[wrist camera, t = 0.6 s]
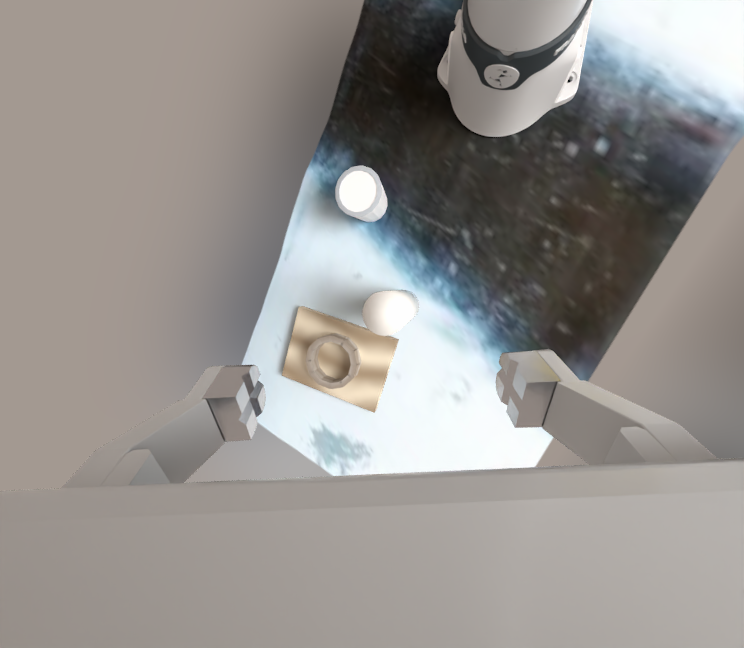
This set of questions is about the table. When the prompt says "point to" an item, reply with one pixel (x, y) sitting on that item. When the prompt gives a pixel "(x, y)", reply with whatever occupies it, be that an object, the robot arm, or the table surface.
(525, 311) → the table surface
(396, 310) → the paper roll
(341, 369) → the roll holder
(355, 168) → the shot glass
